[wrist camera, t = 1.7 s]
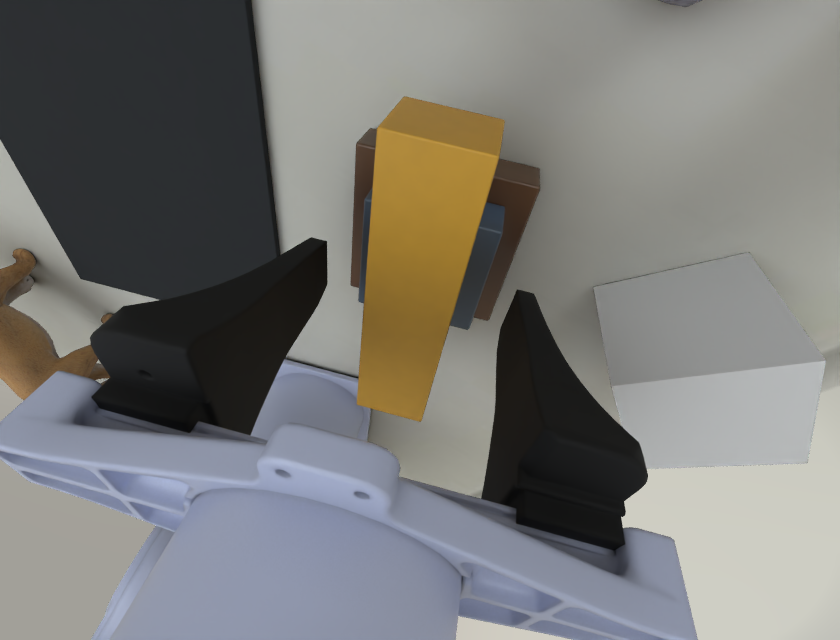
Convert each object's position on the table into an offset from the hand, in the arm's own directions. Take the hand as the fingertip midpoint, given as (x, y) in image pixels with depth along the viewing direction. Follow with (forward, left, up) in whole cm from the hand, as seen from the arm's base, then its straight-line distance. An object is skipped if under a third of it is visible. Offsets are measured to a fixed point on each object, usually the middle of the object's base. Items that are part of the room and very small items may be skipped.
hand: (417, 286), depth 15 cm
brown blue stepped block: (0, 0, -5) cm, 5 cm away
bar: (0, 0, -1) cm, 1 cm away
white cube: (-2, -12, -5) cm, 13 cm away
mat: (-1, +15, -5) cm, 16 cm away
